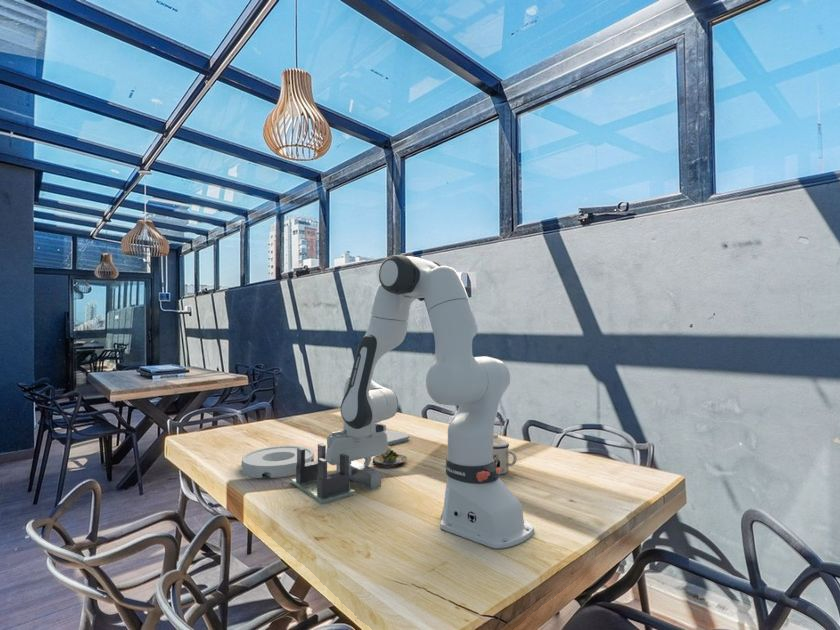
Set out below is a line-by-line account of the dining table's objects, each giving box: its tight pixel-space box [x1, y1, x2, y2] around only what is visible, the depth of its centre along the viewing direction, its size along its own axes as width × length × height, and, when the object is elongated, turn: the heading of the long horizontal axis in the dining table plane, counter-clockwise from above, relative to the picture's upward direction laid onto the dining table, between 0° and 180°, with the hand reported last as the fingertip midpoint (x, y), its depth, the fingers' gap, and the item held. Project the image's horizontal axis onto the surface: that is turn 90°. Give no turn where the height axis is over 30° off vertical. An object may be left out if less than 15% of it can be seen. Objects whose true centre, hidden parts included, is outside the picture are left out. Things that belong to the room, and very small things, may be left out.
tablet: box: [385, 429, 411, 446], centre depth 173 cm, size 16×26×2 cm, turn 136°
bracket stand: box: [290, 443, 356, 504], centre depth 124 cm, size 20×10×10 cm, turn 39°
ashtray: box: [241, 445, 315, 479], centre depth 144 cm, size 23×23×4 cm
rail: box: [336, 460, 382, 491], centre depth 131 cm, size 20×4×4 cm, turn 40°
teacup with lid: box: [493, 433, 517, 475], centre depth 138 cm, size 12×9×12 cm
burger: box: [372, 445, 408, 469], centre depth 147 cm, size 12×12×8 cm
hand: (357, 473), depth 131 cm, fingers closed on rail, 4 cm apart
